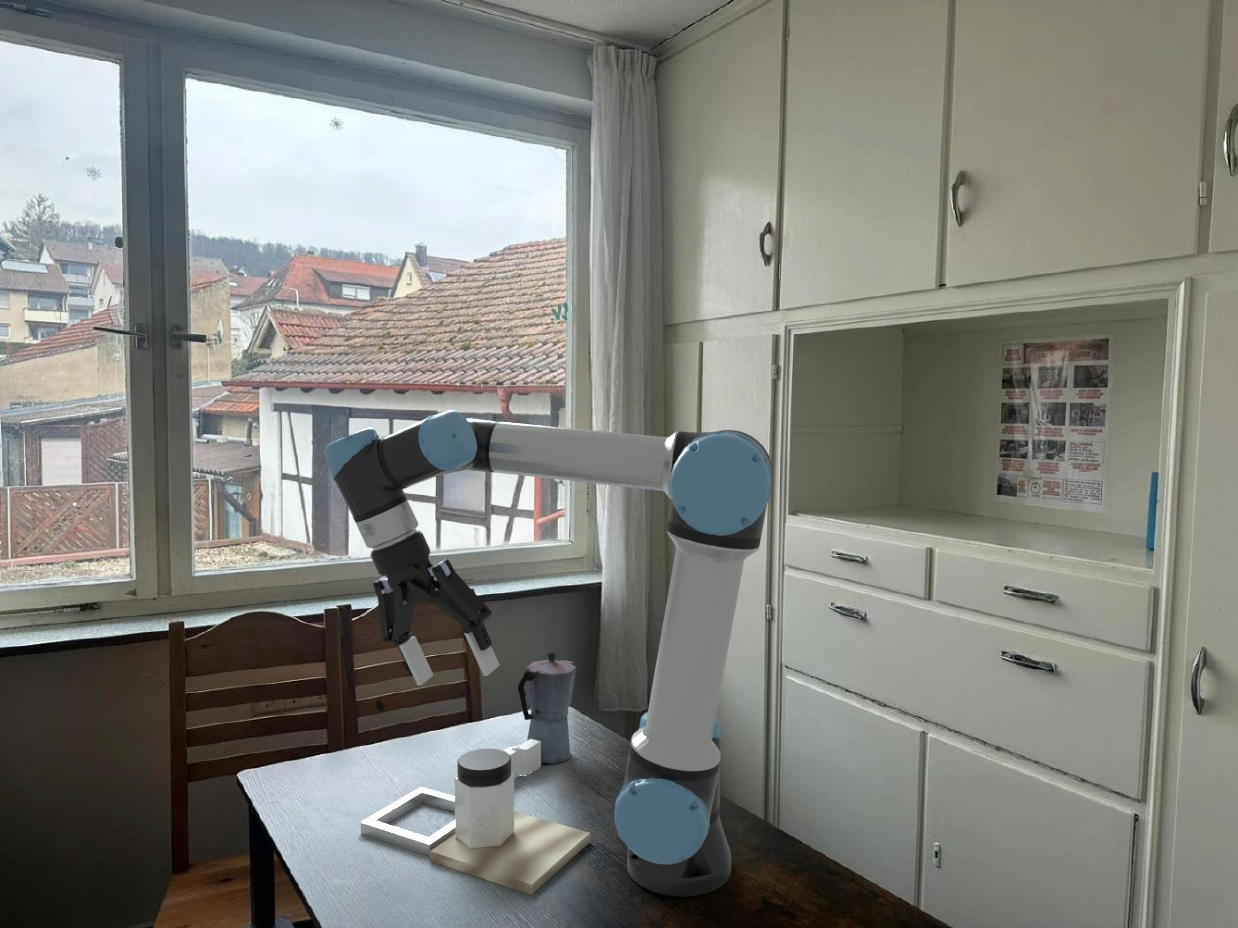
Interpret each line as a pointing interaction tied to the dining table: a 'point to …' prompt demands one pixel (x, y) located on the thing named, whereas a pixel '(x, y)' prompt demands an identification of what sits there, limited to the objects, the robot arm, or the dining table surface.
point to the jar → (484, 798)
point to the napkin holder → (525, 757)
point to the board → (517, 854)
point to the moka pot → (549, 705)
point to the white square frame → (383, 831)
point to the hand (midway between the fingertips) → (457, 675)
